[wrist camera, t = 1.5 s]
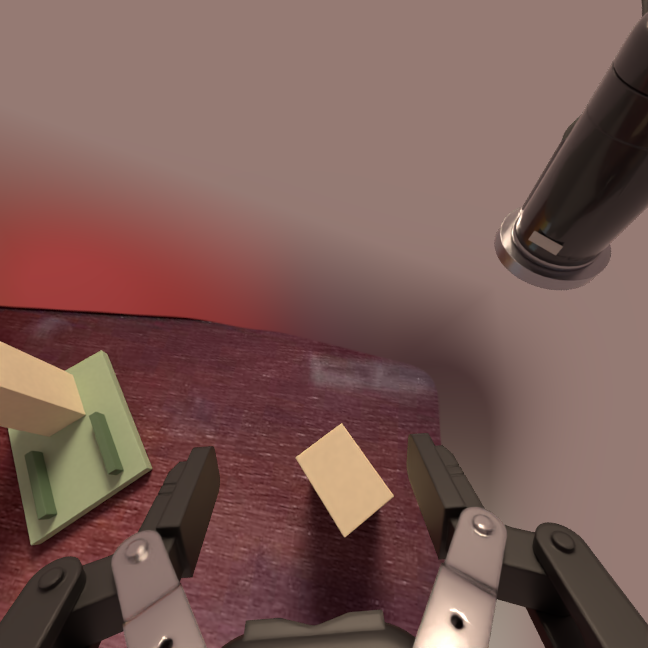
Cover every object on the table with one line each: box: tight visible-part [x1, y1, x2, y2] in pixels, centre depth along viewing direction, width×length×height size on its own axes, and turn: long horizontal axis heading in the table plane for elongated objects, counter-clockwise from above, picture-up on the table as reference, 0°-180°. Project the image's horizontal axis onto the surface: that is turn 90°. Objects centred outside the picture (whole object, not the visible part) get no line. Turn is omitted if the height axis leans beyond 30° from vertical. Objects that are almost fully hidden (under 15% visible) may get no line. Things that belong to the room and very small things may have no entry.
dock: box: [0, 342, 152, 545], centre depth 27 cm, size 10×14×11 cm
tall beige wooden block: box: [296, 424, 394, 538], centre depth 24 cm, size 4×5×10 cm
